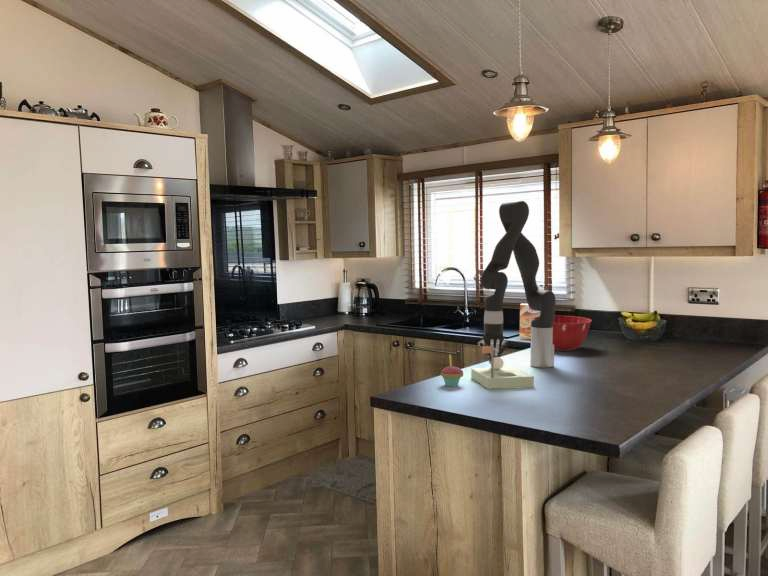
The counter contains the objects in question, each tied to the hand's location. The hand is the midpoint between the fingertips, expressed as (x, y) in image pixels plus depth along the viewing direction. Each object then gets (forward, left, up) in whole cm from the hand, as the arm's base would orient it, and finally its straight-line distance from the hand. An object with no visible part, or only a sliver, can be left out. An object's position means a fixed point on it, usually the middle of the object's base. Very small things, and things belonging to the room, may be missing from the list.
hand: (492, 365), depth 250 cm
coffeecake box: (-58, -92, -5) cm, 109 cm away
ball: (0, +4, +1) cm, 4 cm away
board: (0, +9, -5) cm, 10 cm away
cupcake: (+20, +9, -5) cm, 23 cm away
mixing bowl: (-58, -58, -5) cm, 82 cm away
